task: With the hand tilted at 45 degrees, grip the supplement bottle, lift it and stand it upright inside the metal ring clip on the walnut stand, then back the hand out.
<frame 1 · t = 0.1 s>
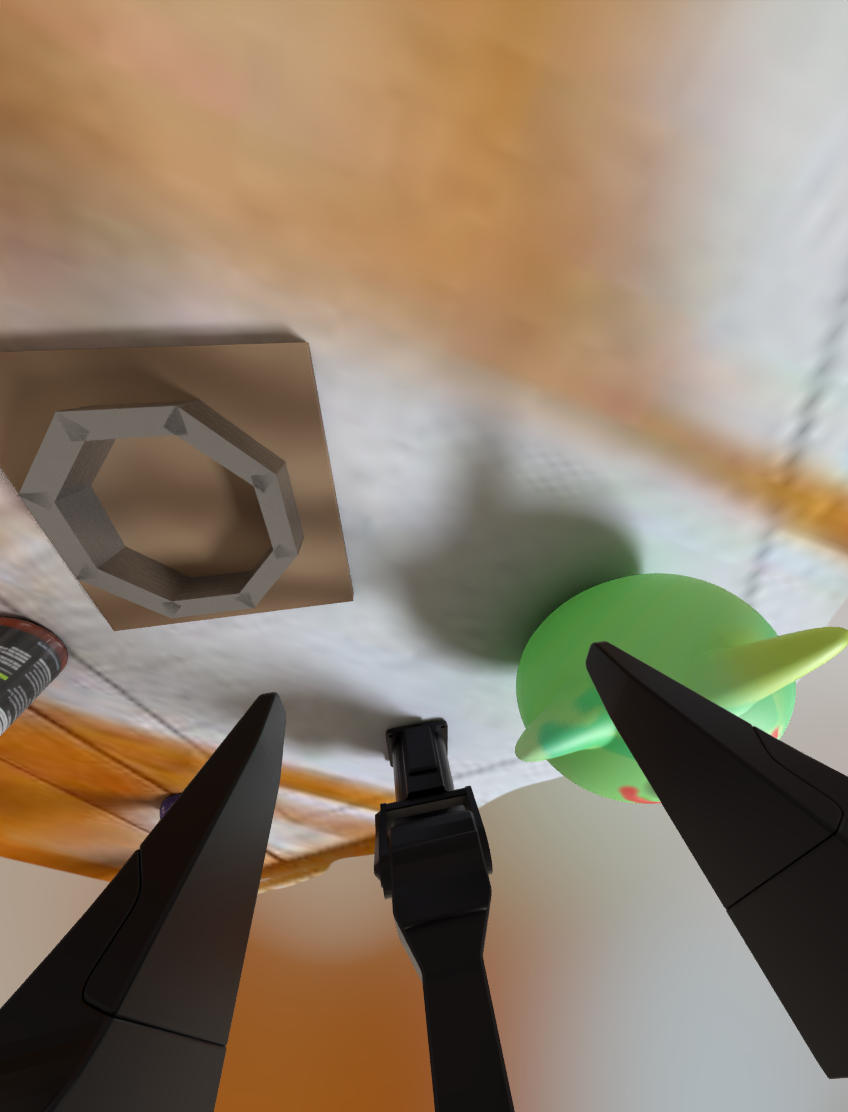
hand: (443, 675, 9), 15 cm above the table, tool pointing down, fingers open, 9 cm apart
supplement bottle: (22, 643, 23), on the table
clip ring: (184, 518, 18), on the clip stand, point 2 cm above the table
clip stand: (201, 503, 20), on the table
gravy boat: (579, 616, 31), on the table
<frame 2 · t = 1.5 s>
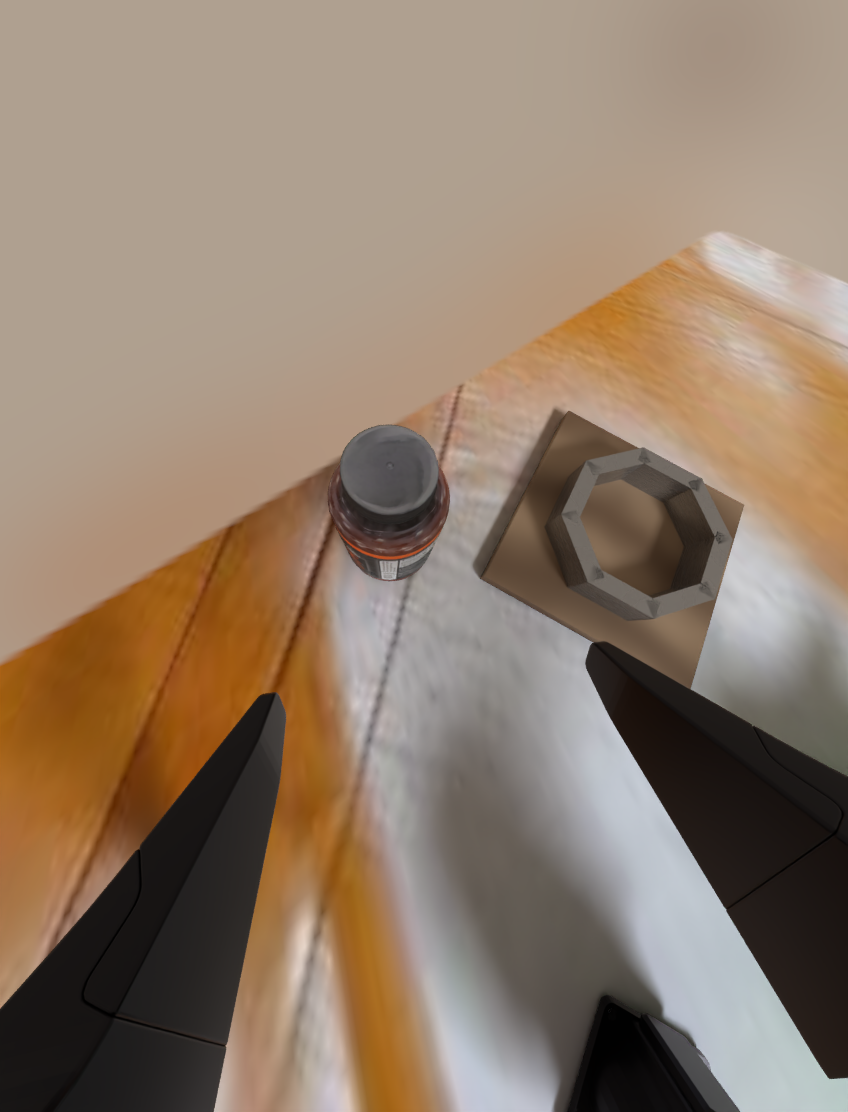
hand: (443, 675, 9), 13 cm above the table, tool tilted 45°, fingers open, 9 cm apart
supplement bottle: (390, 543, 24), on the table
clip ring: (635, 532, 24), on the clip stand, point 2 cm above the table
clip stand: (614, 541, 26), on the table
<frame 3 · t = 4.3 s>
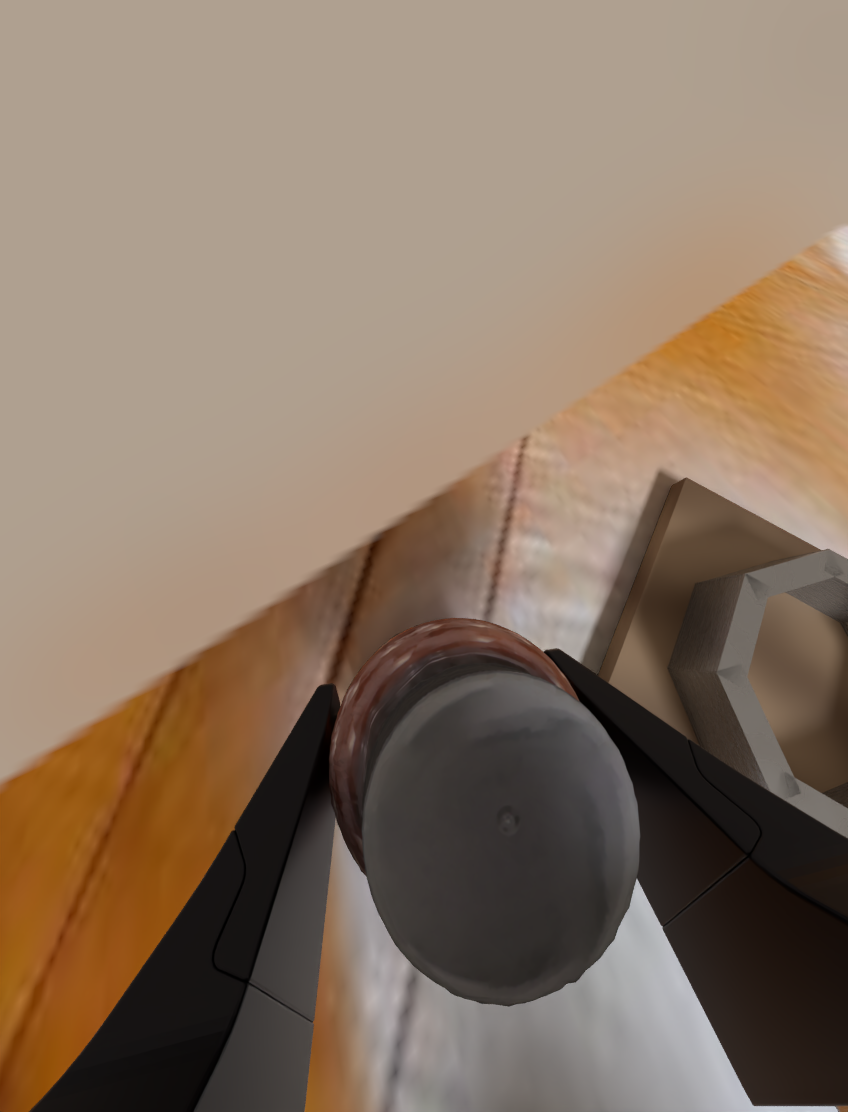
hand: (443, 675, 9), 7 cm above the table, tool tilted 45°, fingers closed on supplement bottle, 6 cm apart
supplement bottle: (426, 692, 16), on the table, touching gripper
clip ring: (820, 687, 15), on the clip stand, point 2 cm above the table
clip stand: (765, 681, 17), on the table
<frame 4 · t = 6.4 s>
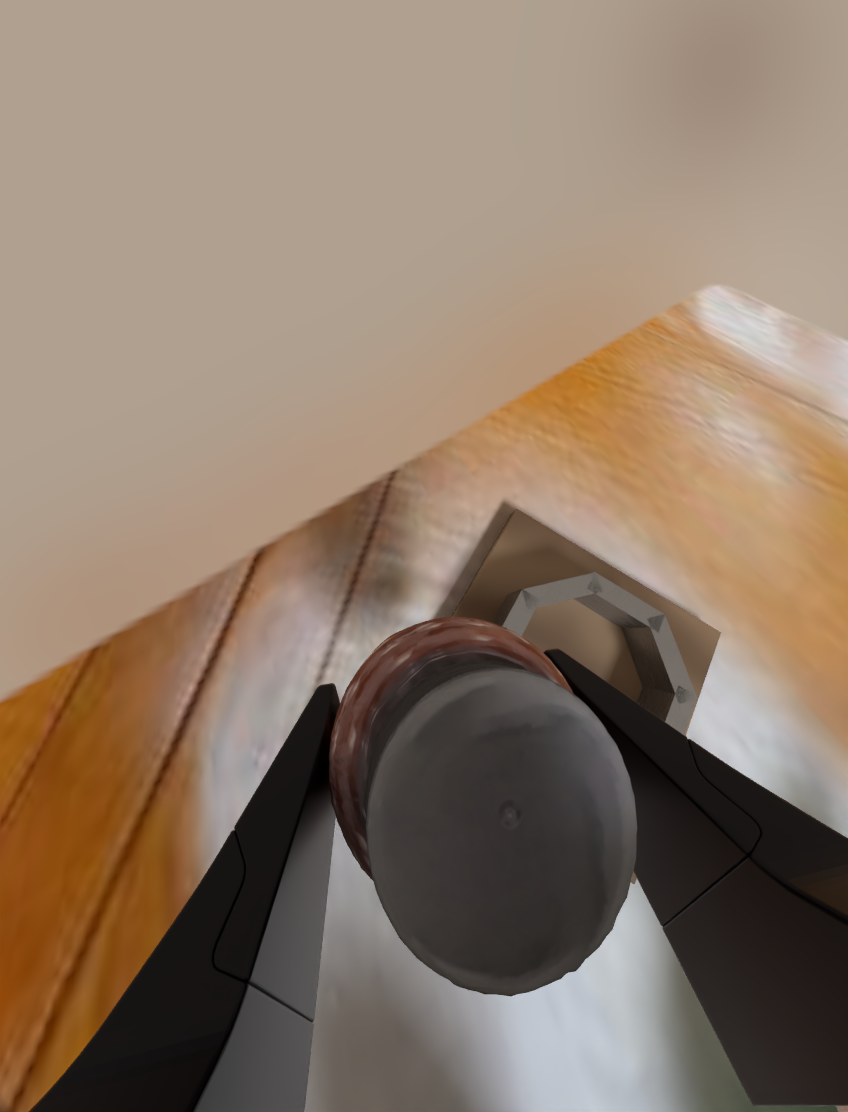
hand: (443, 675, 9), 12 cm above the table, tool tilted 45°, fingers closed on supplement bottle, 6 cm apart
supplement bottle: (422, 691, 16), point 5 cm above the table, touching gripper
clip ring: (579, 677, 19), on the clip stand, point 2 cm above the table
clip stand: (560, 673, 22), on the table
when the fingers open (9 cm above the table, at t = 8.3 s): supplement bottle drops 1 cm, resting on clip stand.
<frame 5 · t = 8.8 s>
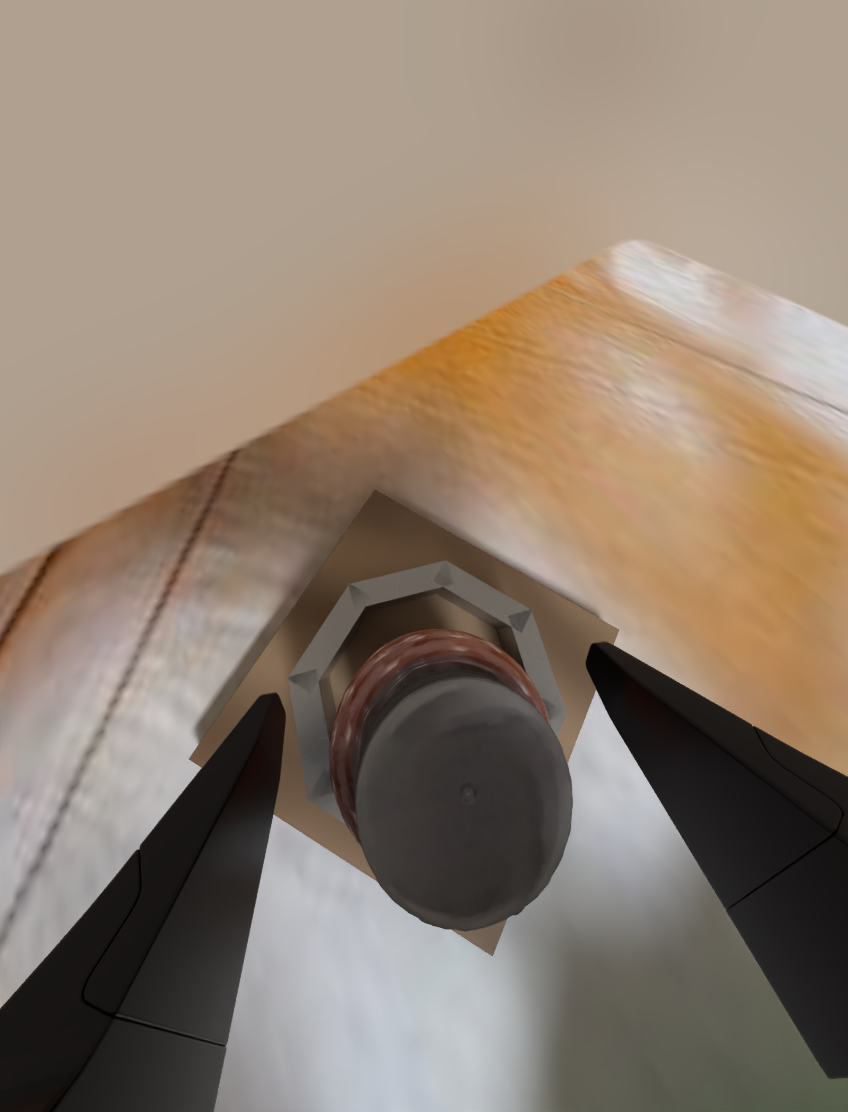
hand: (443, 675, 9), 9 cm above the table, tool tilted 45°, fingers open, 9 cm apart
supplement bottle: (418, 691, 17), point 1 cm above the table, touching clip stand
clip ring: (427, 691, 16), on the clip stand, point 2 cm above the table
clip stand: (423, 685, 18), on the table
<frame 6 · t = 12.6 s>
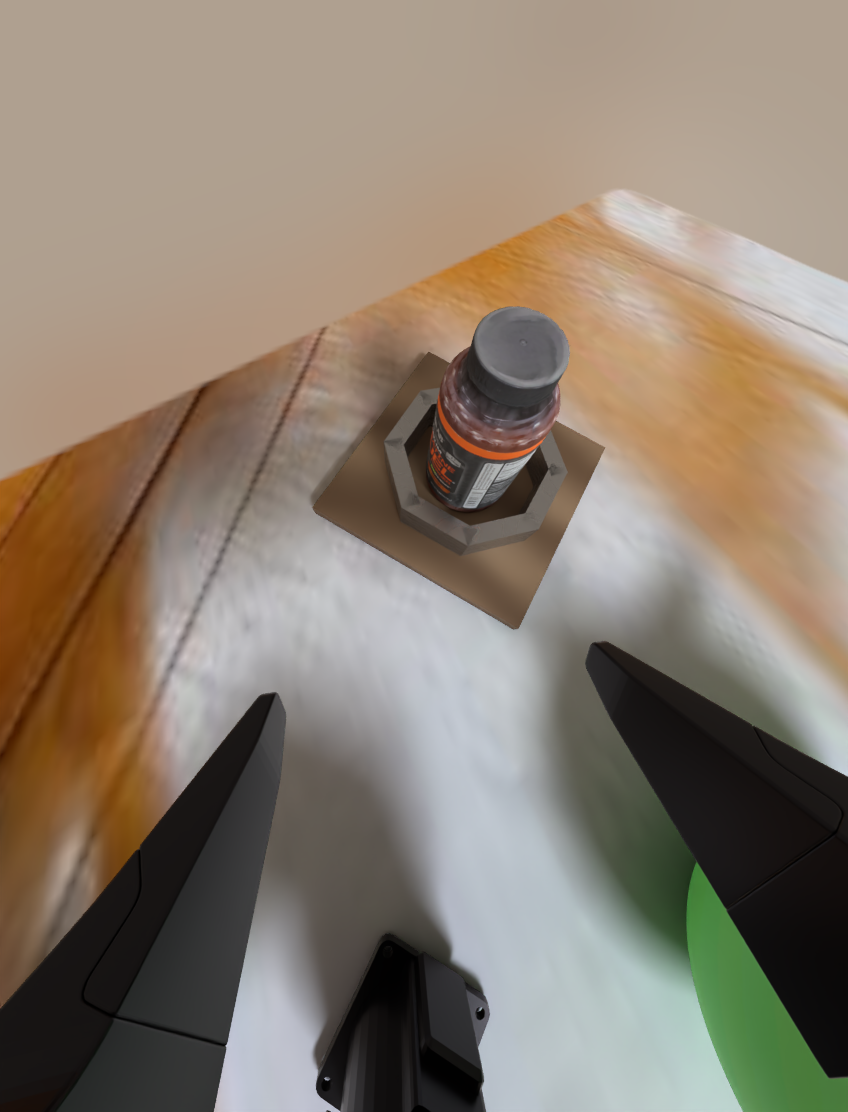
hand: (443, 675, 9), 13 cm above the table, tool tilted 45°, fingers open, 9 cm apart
supplement bottle: (464, 479, 24), point 1 cm above the table, touching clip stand
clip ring: (472, 466, 23), on the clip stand, point 2 cm above the table
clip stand: (465, 481, 25), on the table
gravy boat: (757, 885, 20), on the table
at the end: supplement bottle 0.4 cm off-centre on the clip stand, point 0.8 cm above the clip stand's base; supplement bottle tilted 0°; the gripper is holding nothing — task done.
